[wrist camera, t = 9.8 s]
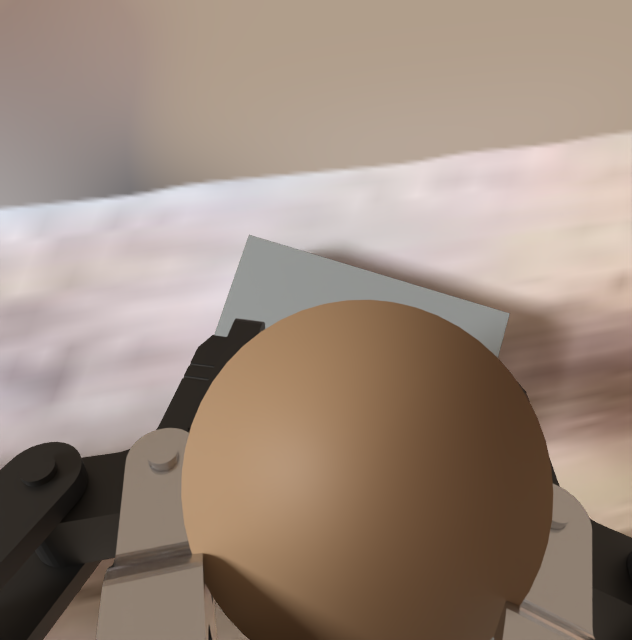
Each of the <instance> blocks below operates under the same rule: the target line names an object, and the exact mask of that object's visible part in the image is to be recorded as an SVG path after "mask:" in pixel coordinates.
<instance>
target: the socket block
mask: <svg viewBox="0 0 632 640" xmlns="http://www.w3.org/2000/svg"><path fill="white" fill-rule="evenodd" d="M346 300H378V301H388V302H395V303H399V304H404V305H408V306H412V307H416V308H419V309H422V310H424V311H427V312H430V313H432V314H435V315H438V316H440V317H442V318H443V319H445V320H447V321H449V322H451V323H453V324H455V325H457V326H459V327H460V328H462V329H463V330H464V331H466V332H467V333H469V334H470V335H472V336H473V337H474V338H476V339H477V340H479V341H480V342H481V343H482V344H483V345H484V346H485V347H486V348H488V349H489V350H490V351H491V352H492V353H493V354H494V355H495V356H496V357H497V358H498V356H499V352H500V348H501V344H502V341H503V337H504V333H505V329H506V326H507V322H508V318H509V314H510V313H507V312H503V311H500V310H497V309H493V308H490V307H487V306H483V305H480V304H477V303H474V302H470V301H467V300H464V299H460V298H457V297H454V296H450V295H447V294H444V293H440V292H437V291H434V290H430V289H427V288H424V287H421V286H417V285H414V284H411V283H407V282H404V281H401V280H397V279H394V278H391V277H387V276H384V275H381V274H377V273H374V272H371V271H368V270H364V269H361V268H358V267H354V266H351V265H348V264H344V263H341V262H338V261H334V260H331V259H328V258H324V257H321V256H318V255H315V254H311V253H308V252H305V251H301V250H298V249H295V248H291V247H288V246H285V245H281V244H278V243H275V242H271V241H268V240H265V239H262V238H258V237H255V236H252V235H249V236H248V239H247V242H246V245H245V248H244V251H243V254H242V257H241V259H240V262H239V265H238V268H237V271H236V274H235V277H234V280H233V282H232V285H231V288H230V291H229V294H228V297H227V300H226V303H225V305H224V308H223V311H222V314H221V317H220V320H219V323H218V326H217V328H216V331H215V334H214V335H216V336H223V337H227V336H228V333H229V331H230V329H231V327H232V324H233V322H234V320H235V319H236V318H239V319H247V320H254V321H262V322H265V329H266V328H268V327H270V326H271V325H273V324H275V323H276V322H278V321H280V320H281V319H284V318H286V317H288V316H290V315H293V314H295V313H297V312H300V311H302V310H305V309H308V308H312V307H315V306H319V305H322V304H326V303H333V302H339V301H346Z"/></svg>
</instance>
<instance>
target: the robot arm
mask: <svg viewBox="0 0 632 640" xmlns="http://www.w3.org/2000/svg"><path fill="white" fill-rule="evenodd" d="M263 330H265V322H262V321H254V320H247V319H239V318H236V319H235V320H234V322H233V324H232V327H231V329H230V331H229V333H228V336H227V337H223V336H216V335H212V336H211V337H210V338H209V339H207V340H206V341H205V342H204V343H203V344H201V345H200V346H199V347H198V349H197V351H196V353H195V355H194V357H193V359H192V361H191V364H190V366H189V367H188V369H187V371H186V373H185V375H184V378H183V379H182V381H181V383H180V385H179V387H178V389H177V391H176V393H175V395H174V397H173V399H172V401H171V403H170V405H169V407H168V409H167V411H166V413H165V415H164V417H163V419H162V421H161V423H160V425H159V426H158V428H157V430H155V431H152V432H150V433H148V434H146V435H145V436H143V437H142V438H140V439H139V440H138V441H137V442H136V443H135V444H134V445H133V446H132V448H131V449H129V450H126V451H123V452H118V453H112V454H105V455H98V456H91V457H84V458H81V456H80V454H79V452H78V451H77V450H76V449H75V448H74V447H73V446H71V445H69V444H66V443H61V442H49V443H43V444H40V445H36V446H34V447H31V448H29V449H27V450H25V451H23V452H22V453H20V454H19V455H17V456H16V457H15V458H13V459H12V460H11V461H10V462H9V463H8V464H7V465H5V466H4V467H3V468H2V469H1V470H0V640H43V639H44V638H45V636H46V635H47V634H48V632H49V631H50V629H51V628H52V627H53V625H54V624H55V623H56V621H57V620H58V619H59V617H60V616H61V615H62V613H63V612H64V610H65V609H66V608H67V606H68V605H69V604H70V602H71V601H72V600H73V598H74V597H75V596H76V594H77V593H78V592H79V590H80V589H81V587H82V586H83V585H84V583H85V582H86V581H87V579H88V578H89V577H90V575H91V574H92V573H93V571H94V570H95V569H96V567H97V566H98V564H99V563H100V562H101V560H105V559H110V558H115V560H114V563H113V565H112V566H111V567H109V568H108V569H107V571H106V574H105V577H104V581H103V586H102V592H101V600H100V608H99V616H98V624H97V633H96V640H217V629H216V618H215V605H214V598H213V596H212V595H211V593H210V591H209V590H208V588H207V586H206V584H205V575H204V563H203V553H197V554H192V552H191V549H190V546H189V542H188V537H187V533H186V529H185V525H184V518H183V509H182V500H181V486H182V467H183V460H184V453H185V447H186V444H187V440H188V436H189V433H190V429H191V425H192V423H193V420H194V418H195V415H196V413H197V411H198V408H199V406H200V403H201V401H202V400H203V398H204V396H205V394H206V392H207V391H208V389H209V387H210V385H211V384H212V382H213V381H214V379H215V378H216V377H217V375H218V374H219V373H220V371H221V370H222V369H223V367H224V366H225V365H226V363H227V362H228V361H229V360H230V359H231V358H232V357H233V356H234V355H235V354H236V353H237V352H238V351H239V350H240V349H241V348H242V347H243V346H244V345H245V344H246V343H248V342H249V341H250V340H251V339H253V338H254V337H255V336H256V335H258V334H259V333H260V332H261V331H263ZM517 383H518V382H517ZM518 384H519V383H518ZM519 386H520V387H521V385H520V384H519ZM521 389H522V390H523V392H524V393H525V395H526V396H527V394H526V391H525V390H524V389H523V388H522V387H521ZM527 398H528V396H527ZM528 400H529V399H528ZM549 459H550V458H549ZM550 463H551V461H550ZM551 470H552V482H553V515H552V523H551V529H550V535H549V540H548V545H547V548H546V551H545V554H544V558H543V561H542V564H541V567H540V570H539V572H538V574H537V576H536V578H535V580H534V583H533V585H532V587H531V589H530V591H529V593H528V594H527V596H526V597H525V599H524V600H523V602H522V604H521V605H520V606H519V605H517V604H514V603H512V602H509V601H506V602H505V605H504V608H503V611H502V614H501V617H500V620H499V623H498V626H497V629H496V632H495V635H494V637H493V638H492V639H491V640H632V538H631V537H628V536H626V535H624V534H621V533H619V532H617V531H614V530H612V529H610V528H607V527H605V526H603V525H601V524H599V523H597V522H595V521H593V520H591V519H590V518H589V516H588V514H587V512H586V511H585V509H584V507H583V506H582V505H581V504H580V502H579V501H578V500H577V499H576V498H575V497H574V496H573V495H571V494H570V493H569V492H568V491H566V490H564V489H563V488H561V487H560V486H559V483H558V481H557V478H556V475H555V472H554V470H553V467H552V464H551Z"/></svg>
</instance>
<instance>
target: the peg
mask: <svg viewBox="0 0 632 640" xmlns="http://www.w3.org/2000/svg"><path fill="white" fill-rule="evenodd" d="M181 500H182V509H183V518H184V525H185V529H186V533H187V537H188V542H189V546H190V549H191V552H192V554H197V553H203V563H204V575H205V584H206V586H207V588H208V590H209V591H210V593H211V595H212V596H213V598H214V599H215V601H216V602H217V603H218V605H219V606H220V608H221V609H222V610H223V612H224V613H225V615H226V616H227V617H228V618H229V619H230V620H231V621H232V622H233V623H234V625H235V626H236V627H237V628H238V629H239V630H240V631H241V632H242V633H243V634H244V635H245V636H246V637H247V638H249V639H250V640H491V639H492V638H493V637H494V635H495V632H496V629H497V626H498V623H499V620H500V617H501V614H502V611H503V608H504V605H505V602H506V601H509V602H512V603H514V604H517V605H519V606H520V605H521V604H522V602H523V600H524V599H525V597H526V596H527V594H528V593H529V591H530V589H531V587H532V585H533V583H534V580H535V578H536V576H537V574H538V572H539V570H540V567H541V564H542V561H543V558H544V554H545V551H546V548H547V545H548V540H549V535H550V529H551V523H552V515H553V482H552V470H551V463H550V459H549V454H548V450H547V445H546V441H545V438H544V435H543V432H542V430H541V427H540V424H539V421H538V418H537V416H536V414H535V412H534V410H533V408H532V406H531V404H530V402H529V400H528V398H527V396H526V395H525V393H524V392H523V390H522V389H521V387H520V386H519V384H518V383H517V381H516V380H515V378H514V377H513V375H512V374H511V373H510V372H509V370H508V369H507V368H506V367H505V366H504V365H503V363H502V362H501V361H500V360H499V359H498V358H497V357H496V356H495V355H494V354H493V353H492V352H491V351H490V350H489V349H488V348H486V347H485V346H484V345H483V344H482V343H481V342H480V341H479V340H477V339H476V338H474V337H473V336H472V335H470V334H469V333H467V332H466V331H464V330H463V329H462V328H460V327H459V326H457V325H455V324H453V323H451V322H449V321H447V320H445V319H443V318H442V317H440V316H438V315H435V314H432V313H430V312H427V311H424V310H422V309H419V308H416V307H412V306H408V305H404V304H399V303H395V302H388V301H378V300H346V301H339V302H333V303H326V304H322V305H319V306H315V307H312V308H308V309H305V310H302V311H300V312H297V313H295V314H293V315H290V316H288V317H286V318H284V319H281V320H280V321H278V322H276V323H275V324H273V325H271V326H270V327H268V328H266V329H265V330H263V331H261V332H260V333H259V334H258V335H256V336H255V337H254V338H253V339H251V340H250V341H249V342H248V343H246V344H245V345H244V346H243V347H242V348H241V349H240V350H239V351H238V352H237V353H236V354H235V355H234V356H233V357H232V358H231V359H230V360H229V361H228V362H227V363H226V365H225V366H224V367H223V369H222V370H221V371H220V373H219V374H218V375H217V377H216V378H215V379H214V381H213V382H212V384H211V385H210V387H209V389H208V391H207V392H206V394H205V396H204V398H203V400H202V401H201V403H200V406H199V408H198V411H197V413H196V415H195V418H194V420H193V423H192V425H191V429H190V433H189V436H188V440H187V444H186V447H185V453H184V460H183V467H182V486H181Z"/></svg>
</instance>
